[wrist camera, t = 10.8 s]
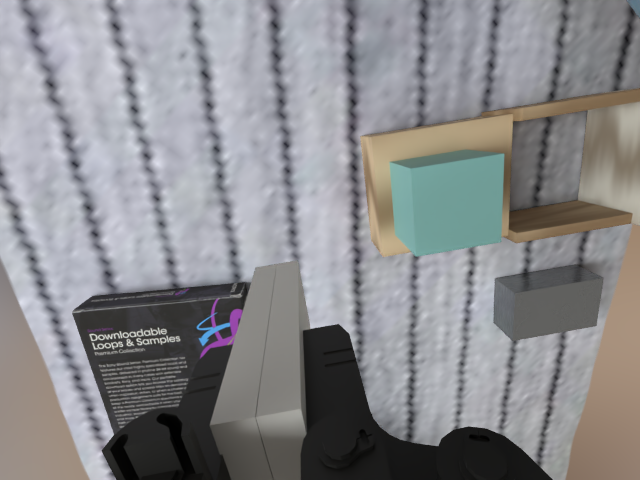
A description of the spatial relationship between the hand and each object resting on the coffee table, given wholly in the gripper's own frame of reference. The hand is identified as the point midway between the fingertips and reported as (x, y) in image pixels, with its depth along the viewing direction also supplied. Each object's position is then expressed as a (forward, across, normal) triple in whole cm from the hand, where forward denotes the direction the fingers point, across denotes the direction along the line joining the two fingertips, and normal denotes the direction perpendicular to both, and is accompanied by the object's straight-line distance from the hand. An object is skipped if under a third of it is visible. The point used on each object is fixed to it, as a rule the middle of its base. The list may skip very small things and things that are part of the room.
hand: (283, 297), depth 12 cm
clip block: (+12, +10, 0) cm, 16 cm away
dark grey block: (+16, +22, -13) cm, 30 cm away
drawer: (+16, +17, 0) cm, 23 cm away
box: (+17, -13, -15) cm, 26 cm away
